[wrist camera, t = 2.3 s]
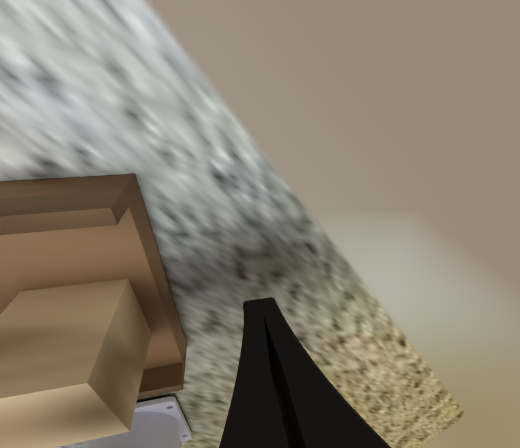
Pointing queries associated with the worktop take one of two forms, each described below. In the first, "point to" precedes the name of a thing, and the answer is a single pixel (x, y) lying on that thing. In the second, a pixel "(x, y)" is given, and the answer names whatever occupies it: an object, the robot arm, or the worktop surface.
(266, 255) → the worktop surface
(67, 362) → the maple cube
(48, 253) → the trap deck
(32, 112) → the worktop surface
